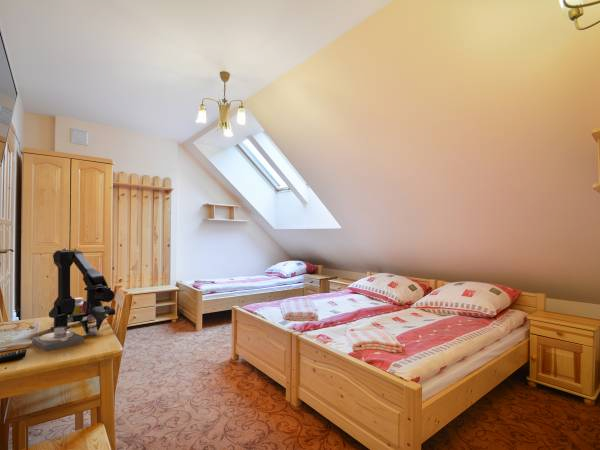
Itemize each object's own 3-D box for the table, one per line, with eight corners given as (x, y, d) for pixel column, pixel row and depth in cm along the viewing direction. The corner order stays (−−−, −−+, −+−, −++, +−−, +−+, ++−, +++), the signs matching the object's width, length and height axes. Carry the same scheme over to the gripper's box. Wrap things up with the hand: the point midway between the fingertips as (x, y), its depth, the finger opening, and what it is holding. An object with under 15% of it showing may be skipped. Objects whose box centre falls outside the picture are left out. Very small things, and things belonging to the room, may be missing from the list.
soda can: (86, 319, 174) (87, 298, 175) (99, 319, 175) (100, 298, 175) (78, 323, 167) (79, 300, 168) (92, 323, 168) (93, 301, 168)
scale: (31, 343, 136) (32, 336, 136) (69, 335, 148) (69, 329, 148) (45, 351, 128) (45, 344, 128) (83, 342, 140) (83, 335, 140)
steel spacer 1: (52, 337, 137) (52, 328, 137) (63, 334, 140) (64, 325, 140) (56, 339, 134) (56, 330, 134) (68, 336, 138) (68, 327, 138)
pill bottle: (76, 321, 171) (77, 300, 171) (66, 320, 172) (67, 299, 173) (86, 318, 177) (87, 297, 178) (77, 317, 179) (78, 296, 179)
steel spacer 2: (87, 333, 152) (87, 325, 152) (98, 332, 153) (98, 324, 153) (85, 336, 147) (85, 327, 148) (96, 335, 149) (96, 327, 149)
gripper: (79, 305, 139) (77, 341, 138) (121, 299, 154) (120, 330, 154) (68, 302, 145) (66, 336, 144) (110, 296, 160) (109, 326, 160)
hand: (91, 332), depth 150 cm, fingers closed on steel spacer 2, 4 cm apart
